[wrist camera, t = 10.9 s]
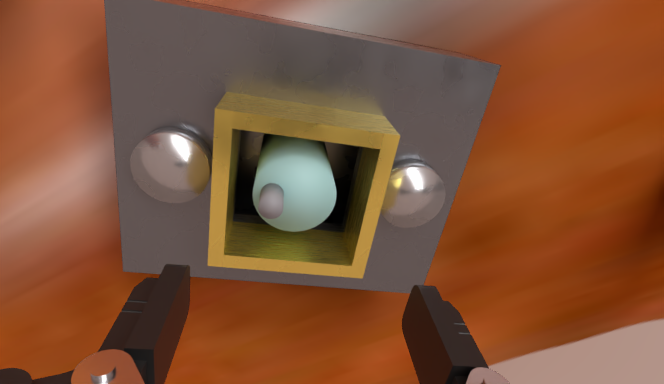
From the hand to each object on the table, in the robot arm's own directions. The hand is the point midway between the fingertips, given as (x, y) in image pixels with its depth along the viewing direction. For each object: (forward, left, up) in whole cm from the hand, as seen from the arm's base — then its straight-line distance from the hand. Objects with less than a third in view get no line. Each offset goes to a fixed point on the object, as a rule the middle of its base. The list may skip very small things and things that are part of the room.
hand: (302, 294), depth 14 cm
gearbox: (0, 0, -16) cm, 16 cm away
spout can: (0, 0, -15) cm, 15 cm away
